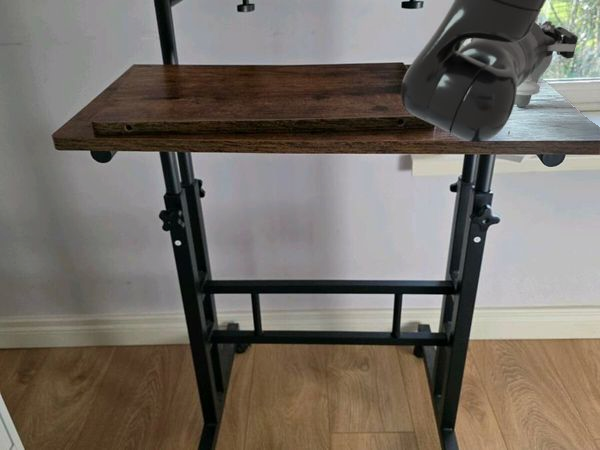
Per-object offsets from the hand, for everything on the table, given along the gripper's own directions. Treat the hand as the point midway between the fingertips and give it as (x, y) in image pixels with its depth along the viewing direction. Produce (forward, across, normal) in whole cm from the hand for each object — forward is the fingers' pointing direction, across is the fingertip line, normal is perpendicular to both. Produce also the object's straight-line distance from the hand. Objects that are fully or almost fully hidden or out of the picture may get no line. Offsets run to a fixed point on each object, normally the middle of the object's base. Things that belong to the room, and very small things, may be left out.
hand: (537, 28), depth 75 cm
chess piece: (-3, 0, +8) cm, 9 cm away
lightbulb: (+5, +1, +13) cm, 14 cm away
